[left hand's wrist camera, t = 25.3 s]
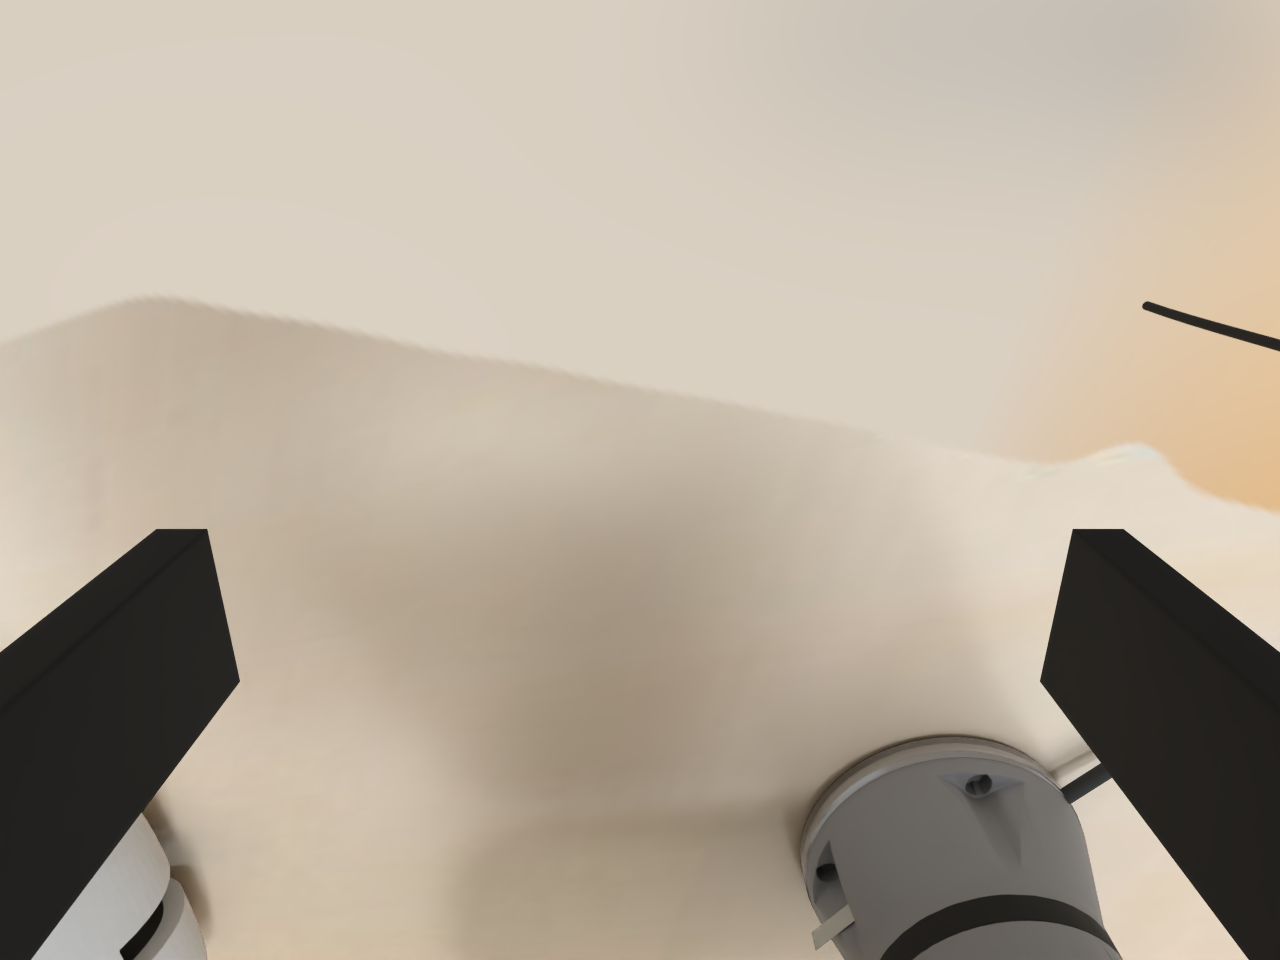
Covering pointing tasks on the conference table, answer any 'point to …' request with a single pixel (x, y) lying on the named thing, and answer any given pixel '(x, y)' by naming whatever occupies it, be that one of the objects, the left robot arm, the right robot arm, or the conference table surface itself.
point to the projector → (129, 909)
